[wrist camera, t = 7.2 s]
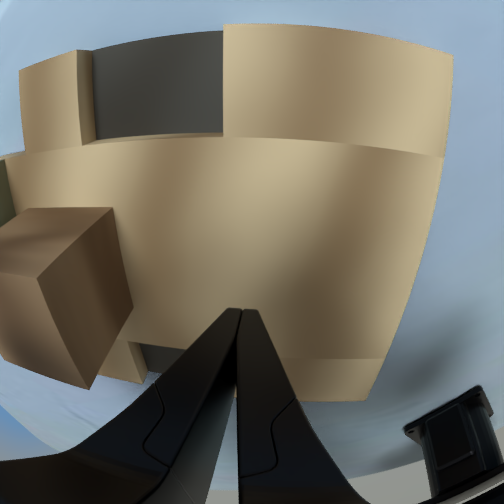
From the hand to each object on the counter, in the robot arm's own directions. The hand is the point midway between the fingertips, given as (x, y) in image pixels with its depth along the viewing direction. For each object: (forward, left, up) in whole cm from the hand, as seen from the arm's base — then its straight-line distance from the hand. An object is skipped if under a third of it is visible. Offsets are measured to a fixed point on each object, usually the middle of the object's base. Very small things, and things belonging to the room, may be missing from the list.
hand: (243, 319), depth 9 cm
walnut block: (+5, +5, -3) cm, 8 cm away
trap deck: (+1, +1, -4) cm, 4 cm away
